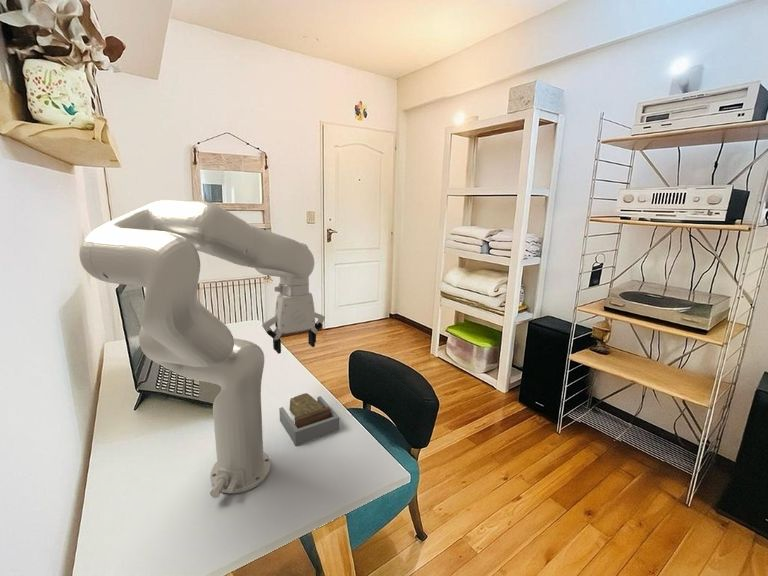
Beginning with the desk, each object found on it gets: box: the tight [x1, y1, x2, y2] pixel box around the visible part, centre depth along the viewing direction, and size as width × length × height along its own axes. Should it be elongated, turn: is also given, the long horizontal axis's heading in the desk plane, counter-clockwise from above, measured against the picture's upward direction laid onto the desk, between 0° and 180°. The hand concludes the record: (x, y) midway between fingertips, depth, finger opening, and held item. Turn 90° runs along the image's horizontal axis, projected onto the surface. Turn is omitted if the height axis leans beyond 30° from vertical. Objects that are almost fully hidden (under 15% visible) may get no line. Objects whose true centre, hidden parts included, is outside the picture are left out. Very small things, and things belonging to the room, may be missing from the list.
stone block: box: [289, 392, 325, 418], centre depth 101 cm, size 6×12×5 cm, turn 45°
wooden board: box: [294, 407, 331, 428], centre depth 95 cm, size 1×10×5 cm, turn 124°
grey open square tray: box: [278, 395, 341, 447], centre depth 97 cm, size 12×12×4 cm
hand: (295, 348), depth 100 cm, fingers open, 9 cm apart
